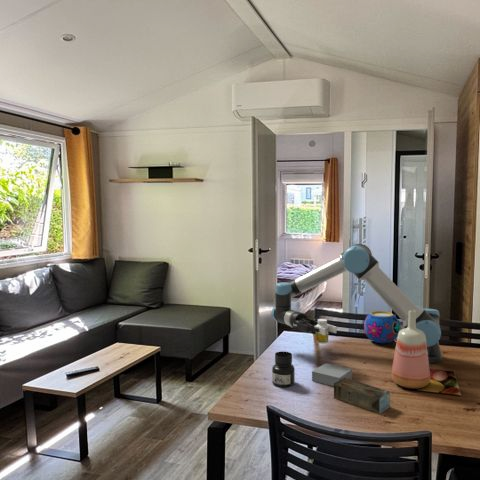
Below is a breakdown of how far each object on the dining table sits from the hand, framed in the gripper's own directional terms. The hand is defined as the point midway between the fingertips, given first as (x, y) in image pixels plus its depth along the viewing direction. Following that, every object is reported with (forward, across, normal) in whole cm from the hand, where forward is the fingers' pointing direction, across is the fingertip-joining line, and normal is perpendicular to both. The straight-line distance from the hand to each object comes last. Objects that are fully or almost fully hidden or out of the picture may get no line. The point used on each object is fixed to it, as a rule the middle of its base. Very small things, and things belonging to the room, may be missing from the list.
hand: (330, 331), depth 200 cm
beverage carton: (+29, +12, -18) cm, 36 cm away
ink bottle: (-1, +24, -18) cm, 30 cm away
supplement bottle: (-5, 0, -6) cm, 8 cm away
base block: (+7, +5, -18) cm, 20 cm away
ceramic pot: (-18, -52, -18) cm, 58 cm away
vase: (+27, -17, -18) cm, 37 cm away
